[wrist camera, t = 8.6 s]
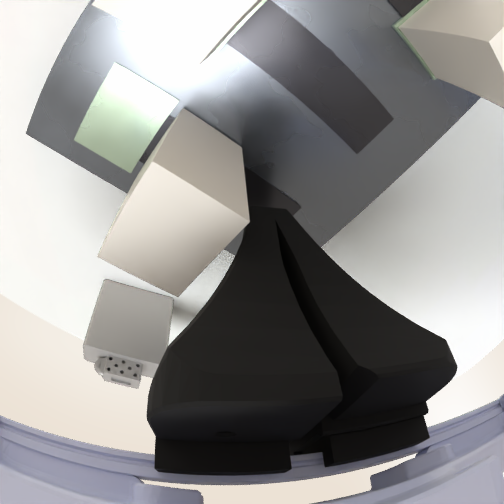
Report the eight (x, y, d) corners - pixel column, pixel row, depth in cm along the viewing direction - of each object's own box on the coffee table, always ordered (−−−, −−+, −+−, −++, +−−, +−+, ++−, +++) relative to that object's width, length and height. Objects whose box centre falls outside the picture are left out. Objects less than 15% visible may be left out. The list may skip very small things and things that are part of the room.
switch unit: (489, 63, 8) (508, 70, 7) (277, 263, 15) (281, 282, 14) (275, -146, 2) (281, -160, 1) (40, 123, 9) (24, 134, 8)
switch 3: (476, 38, 7) (562, 66, 3) (435, 77, 8) (521, 118, 5) (443, -12, 6) (534, -5, 2) (398, 27, 7) (488, 42, 4)
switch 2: (241, 147, 10) (249, 222, 6) (191, 207, 11) (177, 297, 8) (183, 107, 9) (152, 161, 5) (137, 175, 10) (97, 256, 7)
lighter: (102, 297, 16) (70, 425, 10) (104, 278, 15) (65, 416, 9) (214, 326, 18) (215, 453, 12) (224, 310, 17) (227, 446, 11)
